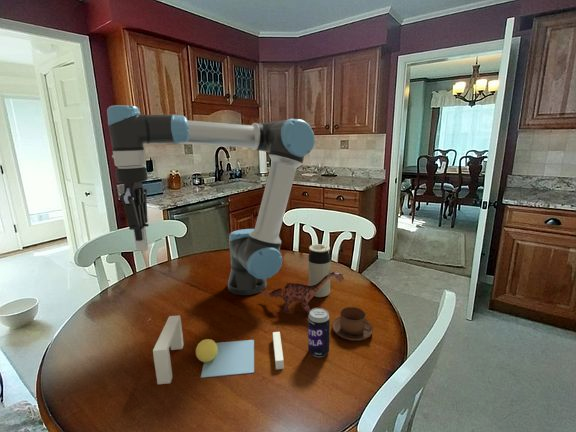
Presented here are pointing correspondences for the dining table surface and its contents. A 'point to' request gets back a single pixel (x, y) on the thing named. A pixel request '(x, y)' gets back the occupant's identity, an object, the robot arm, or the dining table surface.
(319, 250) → the travel mug
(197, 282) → the dining table surface
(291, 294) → the toy dinosaur
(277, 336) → the stopper
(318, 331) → the beverage can
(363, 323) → the cup and saucer
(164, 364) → the bridge
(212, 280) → the dining table surface
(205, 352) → the ball
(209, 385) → the dining table surface
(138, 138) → the robot arm
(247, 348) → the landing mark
